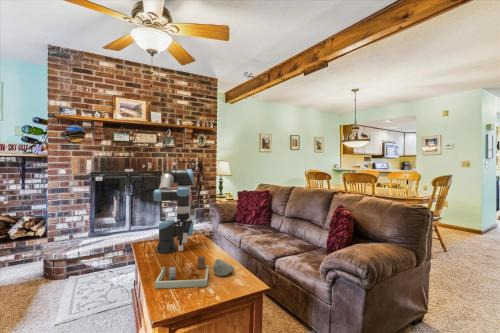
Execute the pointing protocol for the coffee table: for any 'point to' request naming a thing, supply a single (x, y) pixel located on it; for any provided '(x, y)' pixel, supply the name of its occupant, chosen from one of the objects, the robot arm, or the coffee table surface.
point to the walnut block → (201, 262)
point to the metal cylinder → (172, 273)
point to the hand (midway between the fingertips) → (182, 246)
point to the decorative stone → (222, 268)
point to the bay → (180, 281)
